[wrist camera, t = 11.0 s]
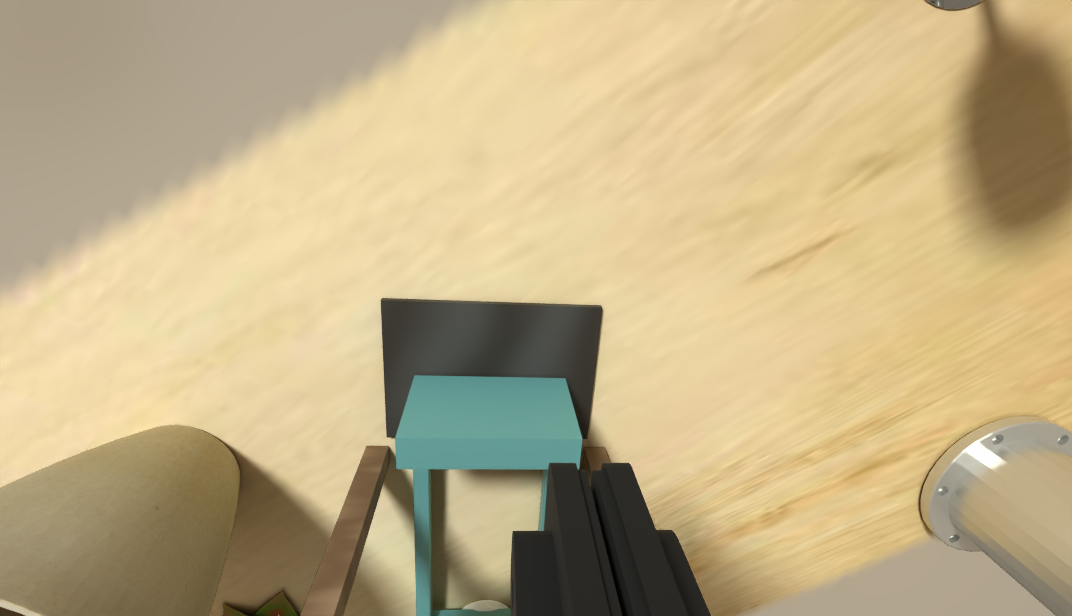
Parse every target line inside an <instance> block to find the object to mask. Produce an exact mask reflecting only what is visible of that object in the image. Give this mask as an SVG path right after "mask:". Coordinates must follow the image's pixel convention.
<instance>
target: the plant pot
mask: <svg viewBox="0 0 1072 616" xmlns="http://www.w3.org/2000/svg"><path fill="white" fill-rule="evenodd" d="M239 488H240V469H239V466H238V463H237V461H236V459H235V457H234V455H233V454H232V452H231V451H230V450H229V449H228V448H227V447H226V446H225V445H224V444H223V443H222V442H221V441H220V440H218V439H217V438H215V437H214V436H212V435H210V434H209V433H207V432H204V431H202V430H199V429H196V428H192V427H188V426H181V425H167V426H160V427H156V428H153V429H149V430H146V431H143V432H139V433H136V434H133V435H130V436H127V437H124V438H121V439H118V440H115V441H112V442H109V443H106V444H104V445H101V446H98V447H96V448H93V449H90V450H87V451H85V452H82V453H80V454H77V455H75V456H72V457H70V458H67V459H65V460H62V461H60V462H57V463H55V464H53V465H50V466H48V467H46V468H43V469H41V470H39V471H37V472H34V473H32V474H30V475H27V476H25V477H23V478H21V479H18V480H16V481H14V482H12V483H10V484H7V485H5V486H3V487H1V488H0V616H209V614H210V610H211V607H212V604H213V601H214V598H215V595H216V591H217V588H218V585H219V581H220V578H221V574H222V571H223V567H224V563H225V559H226V555H227V551H228V547H229V543H230V539H231V534H232V529H233V525H234V520H235V514H236V508H237V502H238V495H239Z"/></svg>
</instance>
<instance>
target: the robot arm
mask: <svg viewBox="0 0 1072 616" xmlns="http://www.w3.org/2000/svg"><path fill="white" fill-rule="evenodd" d="M921 513H922V517H923V520H924V522H925V523H926V525H927V527H928V528H929V529H930V530H931V531H932V532H933V533H934V534H935V535H936V536H937V537H938V538H939V539H940V540H941V541H943V542H944V543H945V544H947V545H948V546H951V547H954V548H957V549H959V550H965V551H983V552H984V553H985V554H986V555H988V556H989V557H990V558H991V559H992V560H993V561H994V562H995V563H997V564H998V565H999V566H1000V567H1001V568H1002V569H1003V570H1005V571H1006V572H1007V573H1008V574H1009V575H1010V576H1011V577H1012V578H1014V579H1015V580H1016V581H1017V582H1018V583H1019V584H1021V585H1022V586H1023V587H1024V588H1025V589H1026V590H1027V591H1029V592H1030V593H1031V594H1032V595H1033V596H1034V597H1035V598H1036V599H1037V600H1039V601H1040V602H1041V603H1042V604H1043V605H1044V606H1046V607H1047V608H1048V609H1049V610H1050V611H1051V612H1052V613H1053V614H1055V615H1056V616H1072V433H1071V432H1070V431H1068V430H1067V429H1065V428H1064V427H1062V426H1060V425H1058V424H1056V423H1054V422H1052V421H1050V420H1048V419H1044V418H1040V417H1035V416H1017V417H1011V418H1005V419H1001V420H998V421H995V422H992V423H989V424H986V425H984V426H982V427H980V428H978V429H976V430H974V431H972V432H971V433H969V434H968V435H966V436H964V437H963V438H961V439H960V440H959V441H957V442H956V443H955V444H954V445H953V446H951V447H950V448H949V449H948V450H947V451H946V452H945V453H944V454H943V455H942V457H941V458H940V459H939V460H938V461H937V462H936V464H935V465H934V467H933V468H932V470H931V471H930V473H929V475H928V477H927V479H926V481H925V484H924V486H923V490H922V495H921ZM511 616H711V615H710V613H709V610H708V608H707V606H706V603H705V601H704V599H703V596H702V594H701V592H700V589H699V587H698V585H697V582H696V580H695V578H694V575H693V573H692V571H691V568H690V566H689V564H688V561H687V559H686V557H685V554H684V552H683V550H682V547H681V545H680V543H679V540H678V538H677V536H676V535H675V533H674V532H673V531H672V530H656V529H655V527H654V524H653V521H652V519H651V516H650V513H649V511H648V508H647V506H646V503H645V500H644V498H643V495H642V493H641V490H640V487H639V485H638V482H637V480H636V477H635V474H634V472H633V469H632V467H631V465H630V464H629V463H603V464H602V466H601V470H593V472H592V477H591V486H590V483H589V479H588V475H587V472H586V470H578V469H577V465H576V463H549V466H548V478H547V492H546V506H545V519H544V531H513V534H512V553H511Z"/></svg>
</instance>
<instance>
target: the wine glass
mask: <svg viewBox="0 0 1072 616" xmlns="http://www.w3.org/2000/svg"><path fill="white" fill-rule="evenodd" d="M926 1H927V2H928V3H930V4H932V5H934V6H936V7H939V8H942V9H947V10H958V9H963V8H968V7H971V6H973V5H976V4H978V3H980V2H982V1H984V0H926Z"/></svg>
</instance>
